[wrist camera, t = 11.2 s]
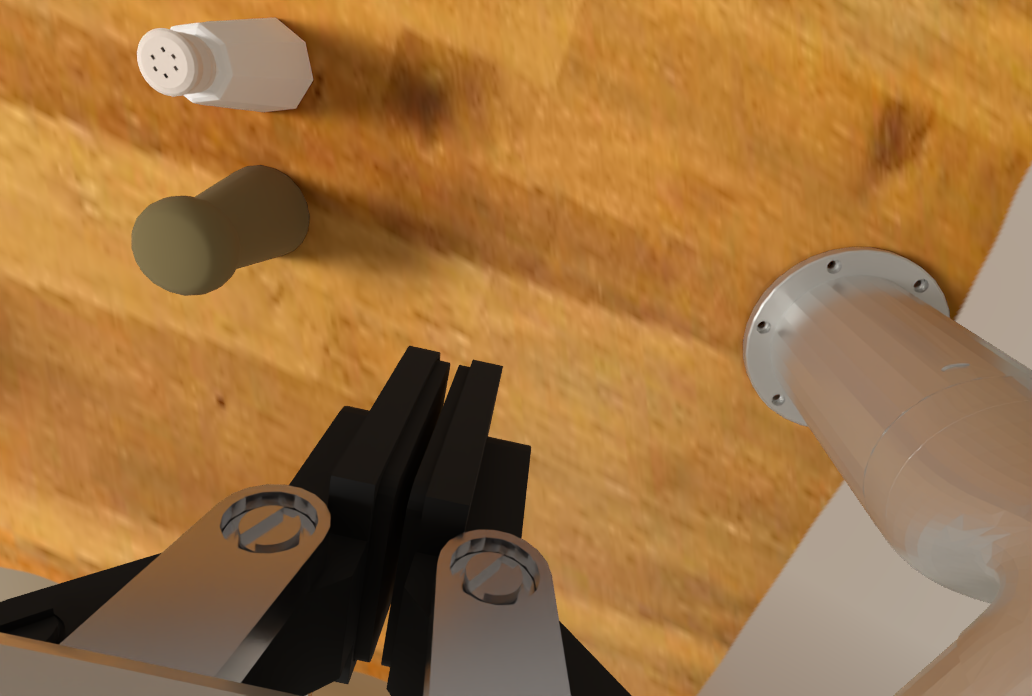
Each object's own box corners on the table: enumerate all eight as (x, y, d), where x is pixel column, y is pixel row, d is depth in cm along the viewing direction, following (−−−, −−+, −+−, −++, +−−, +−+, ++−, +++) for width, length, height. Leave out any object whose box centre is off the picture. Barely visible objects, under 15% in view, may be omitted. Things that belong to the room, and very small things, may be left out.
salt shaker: (279, -4, 37) (169, -33, 27) (332, 85, 39) (248, 89, 29) (208, 46, 38) (79, 36, 28) (263, 130, 40) (159, 148, 30)
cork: (249, 144, 40) (142, 167, 30) (327, 208, 42) (249, 250, 32) (203, 215, 43) (89, 259, 32) (278, 274, 44) (190, 333, 34)
